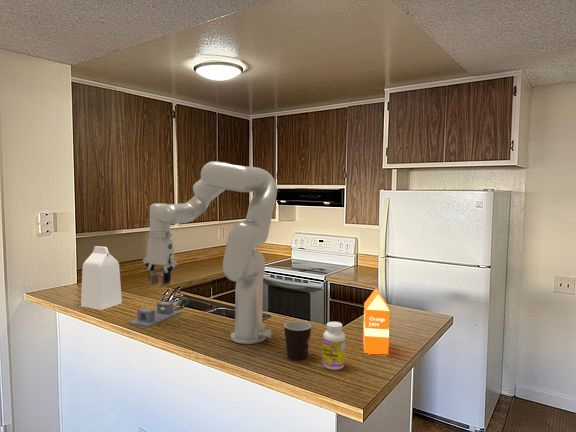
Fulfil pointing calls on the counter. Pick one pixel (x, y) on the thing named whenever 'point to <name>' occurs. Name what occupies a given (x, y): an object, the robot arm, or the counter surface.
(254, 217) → the robot arm
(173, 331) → the counter surface
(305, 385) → the counter surface
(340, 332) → the supplement bottle
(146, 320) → the bearing block
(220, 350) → the counter surface
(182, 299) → the shaft
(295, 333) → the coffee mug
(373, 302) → the orange juice
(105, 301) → the milk
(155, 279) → the block
